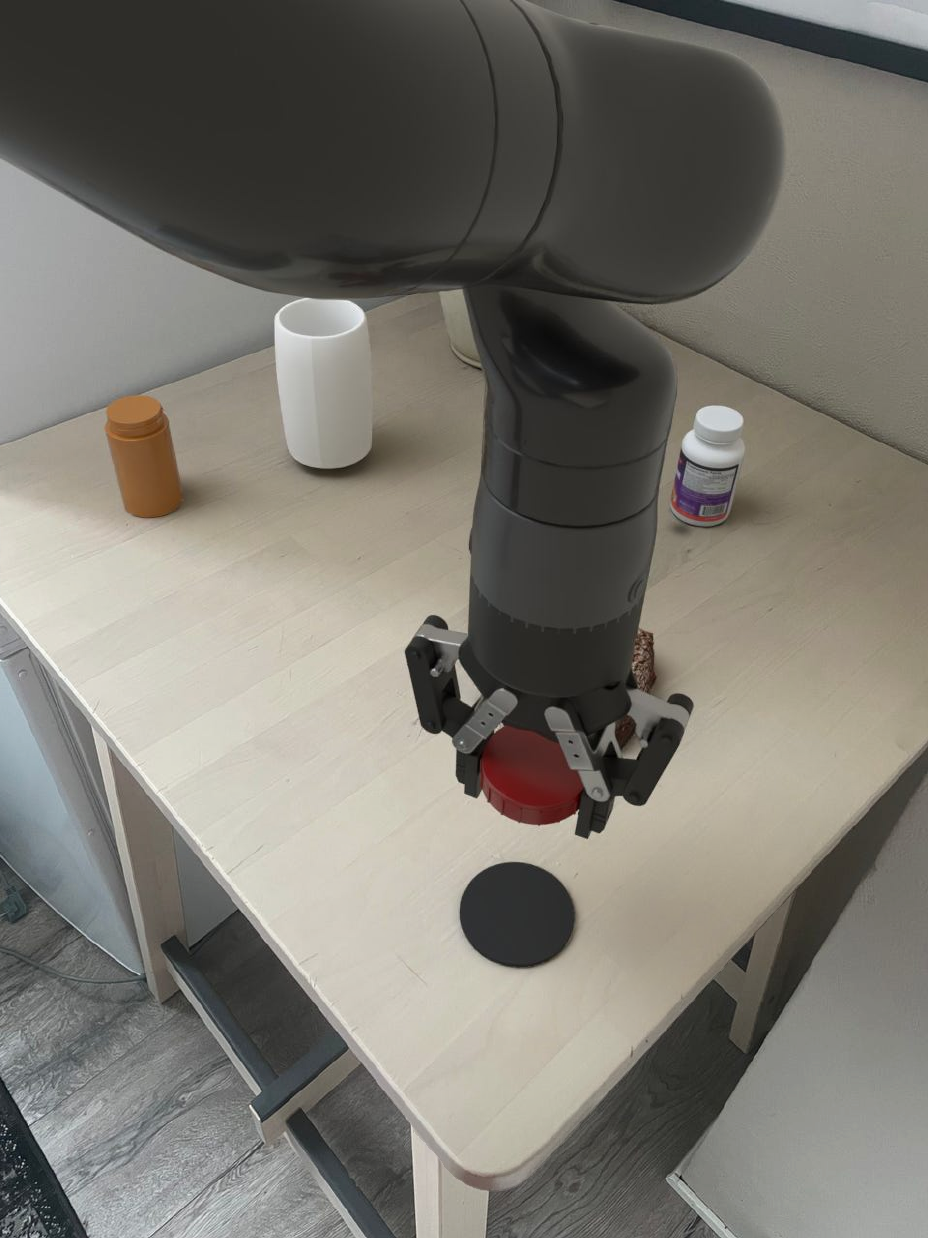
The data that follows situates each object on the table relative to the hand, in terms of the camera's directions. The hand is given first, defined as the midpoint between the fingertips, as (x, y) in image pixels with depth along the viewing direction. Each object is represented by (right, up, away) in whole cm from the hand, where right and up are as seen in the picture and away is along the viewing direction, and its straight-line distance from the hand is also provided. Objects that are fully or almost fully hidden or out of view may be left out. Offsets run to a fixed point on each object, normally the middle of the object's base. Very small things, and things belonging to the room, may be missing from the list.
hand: (531, 803), depth 55 cm
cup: (-16, +25, +43) cm, 52 cm away
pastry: (+4, +4, +22) cm, 23 cm away
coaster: (0, -8, +8) cm, 11 cm away
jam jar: (-31, +20, +37) cm, 53 cm away
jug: (+1, +40, +59) cm, 71 cm away
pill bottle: (+18, +20, +38) cm, 47 cm away
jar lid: (0, +2, -2) cm, 3 cm away
